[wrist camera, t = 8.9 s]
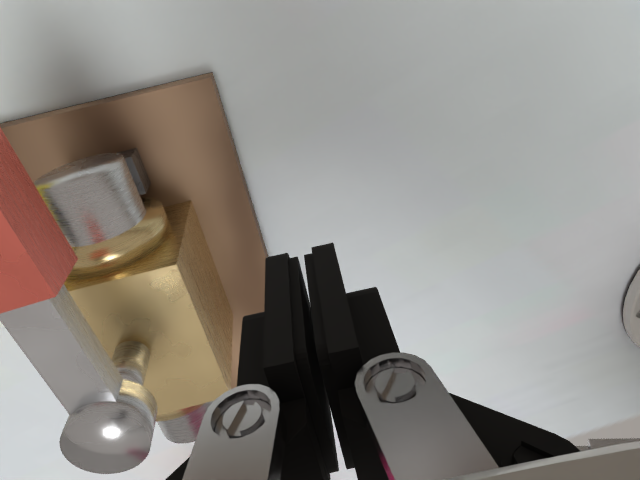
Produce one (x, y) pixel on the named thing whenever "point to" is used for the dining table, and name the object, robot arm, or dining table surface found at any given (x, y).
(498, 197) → the dining table surface
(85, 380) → the valve lever
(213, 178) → the valve board
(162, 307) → the ball valve
